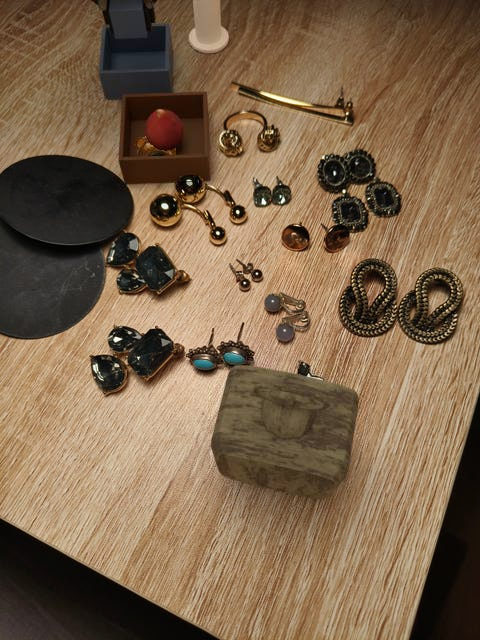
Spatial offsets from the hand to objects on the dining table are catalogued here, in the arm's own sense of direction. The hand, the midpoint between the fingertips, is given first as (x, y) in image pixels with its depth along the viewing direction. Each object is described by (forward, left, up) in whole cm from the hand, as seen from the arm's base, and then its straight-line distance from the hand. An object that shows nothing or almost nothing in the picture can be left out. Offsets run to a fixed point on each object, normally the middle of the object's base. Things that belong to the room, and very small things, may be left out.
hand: (131, 25), depth 94 cm
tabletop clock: (+19, -67, -10) cm, 70 cm away
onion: (+5, -17, -9) cm, 20 cm away
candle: (+12, +8, -10) cm, 17 cm away
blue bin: (0, 0, -10) cm, 10 cm away
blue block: (0, 0, 0) cm, 0 cm away
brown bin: (+5, -17, -10) cm, 20 cm away
